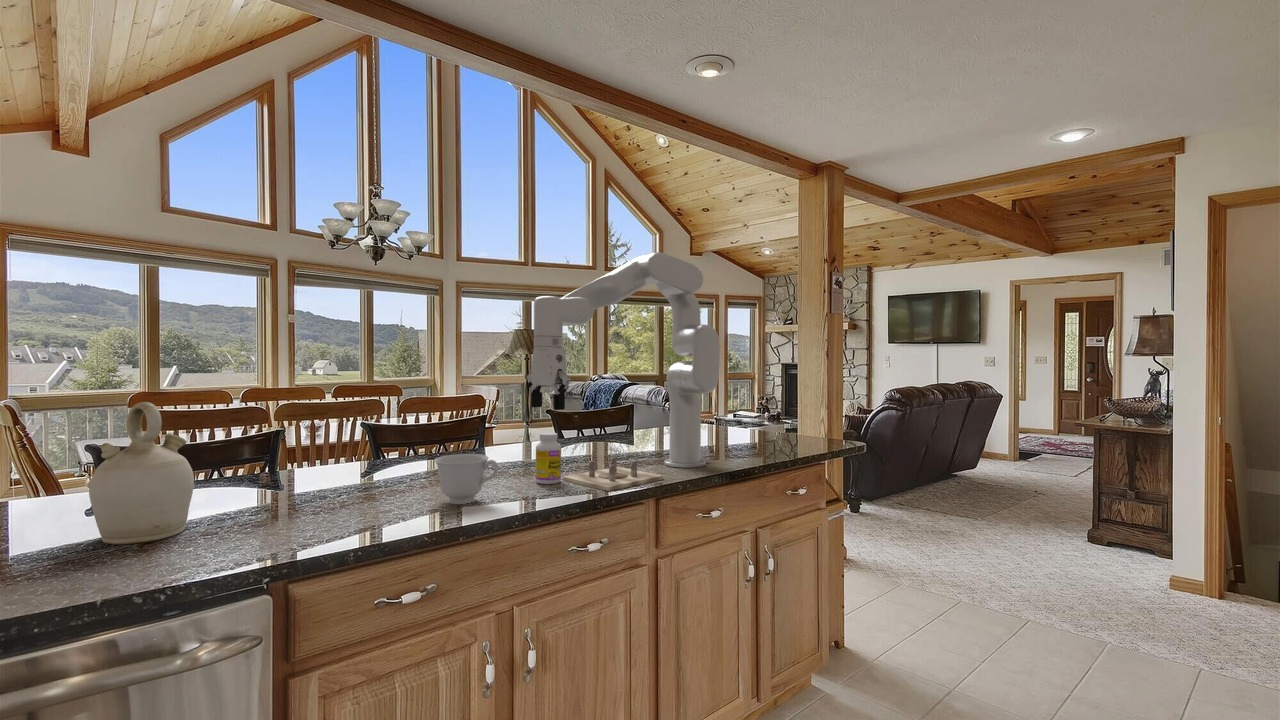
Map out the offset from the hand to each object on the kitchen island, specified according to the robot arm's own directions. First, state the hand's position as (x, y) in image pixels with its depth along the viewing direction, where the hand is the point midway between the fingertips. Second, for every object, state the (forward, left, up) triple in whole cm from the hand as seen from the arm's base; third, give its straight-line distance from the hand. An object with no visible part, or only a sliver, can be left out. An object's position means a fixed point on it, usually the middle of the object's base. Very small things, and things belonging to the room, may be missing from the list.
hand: (547, 408), depth 163 cm
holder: (-14, +10, -20) cm, 26 cm away
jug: (+82, -16, -20) cm, 86 cm away
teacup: (+26, +4, -20) cm, 33 cm away
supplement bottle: (0, 0, -20) cm, 20 cm away
